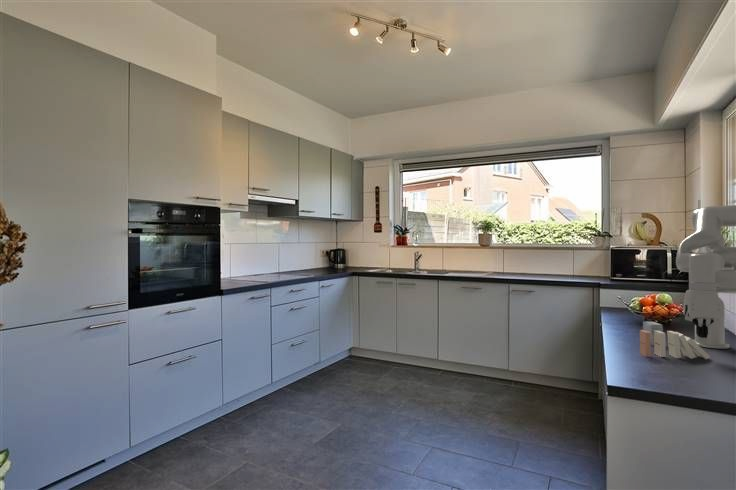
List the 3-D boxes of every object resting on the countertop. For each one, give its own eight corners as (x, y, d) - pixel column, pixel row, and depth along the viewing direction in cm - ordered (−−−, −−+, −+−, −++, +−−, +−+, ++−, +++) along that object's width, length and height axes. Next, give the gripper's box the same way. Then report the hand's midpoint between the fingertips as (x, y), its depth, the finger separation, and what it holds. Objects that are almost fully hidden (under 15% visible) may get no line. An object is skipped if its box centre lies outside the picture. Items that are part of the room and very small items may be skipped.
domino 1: (644, 353, 157) (644, 330, 157) (650, 356, 152) (650, 332, 152) (639, 353, 157) (639, 329, 157) (645, 356, 152) (645, 332, 152)
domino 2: (659, 354, 156) (659, 330, 156) (665, 357, 151) (665, 333, 151) (654, 354, 156) (654, 330, 156) (660, 357, 151) (660, 333, 151)
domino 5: (702, 353, 153) (683, 335, 154) (710, 356, 148) (690, 338, 149) (699, 356, 153) (679, 338, 154) (706, 359, 148) (687, 341, 150)
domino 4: (688, 353, 154) (676, 331, 155) (695, 357, 149) (683, 334, 150) (684, 355, 154) (671, 333, 155) (691, 358, 149) (678, 336, 150)
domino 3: (673, 354, 155) (671, 330, 155) (680, 358, 150) (678, 333, 150) (669, 354, 155) (667, 331, 155) (676, 358, 150) (673, 333, 150)
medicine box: (663, 346, 169) (663, 325, 169) (651, 345, 170) (651, 324, 170) (654, 341, 177) (654, 321, 177) (642, 341, 177) (642, 321, 177)
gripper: (718, 286, 153) (718, 335, 153) (673, 285, 156) (673, 334, 156) (732, 288, 146) (732, 340, 145) (684, 287, 148) (684, 338, 148)
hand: (702, 336), depth 151 cm, fingers closed
